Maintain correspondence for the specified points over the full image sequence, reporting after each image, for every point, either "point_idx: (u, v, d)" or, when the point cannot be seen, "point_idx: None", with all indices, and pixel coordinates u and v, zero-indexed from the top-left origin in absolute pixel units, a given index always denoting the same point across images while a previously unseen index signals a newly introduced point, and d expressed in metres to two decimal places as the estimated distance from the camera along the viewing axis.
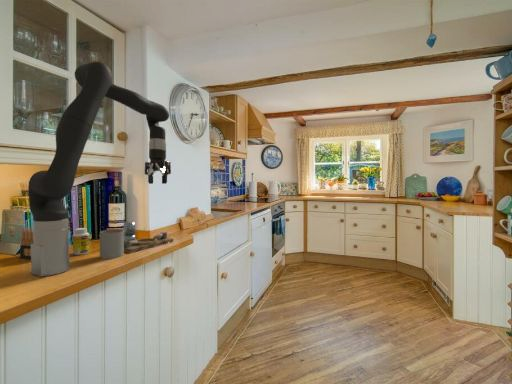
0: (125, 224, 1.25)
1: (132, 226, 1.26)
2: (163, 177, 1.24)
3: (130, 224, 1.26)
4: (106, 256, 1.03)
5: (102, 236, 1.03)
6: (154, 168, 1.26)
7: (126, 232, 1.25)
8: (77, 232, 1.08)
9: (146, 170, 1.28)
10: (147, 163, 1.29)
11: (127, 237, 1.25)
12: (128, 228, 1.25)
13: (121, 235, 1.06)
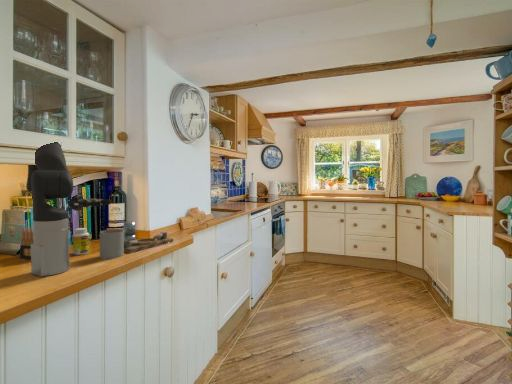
0: (125, 224, 1.25)
1: (132, 226, 1.26)
2: None
3: (130, 224, 1.26)
4: (106, 256, 1.03)
5: (102, 236, 1.03)
6: None
7: (126, 232, 1.25)
8: (77, 232, 1.08)
9: (84, 201, 1.21)
10: None
11: (127, 237, 1.25)
12: (128, 228, 1.25)
13: (121, 235, 1.06)
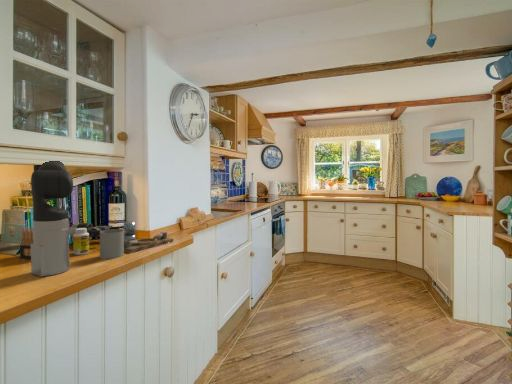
0: (125, 224, 1.25)
1: (132, 226, 1.26)
2: None
3: (130, 224, 1.26)
4: (106, 256, 1.03)
5: (102, 236, 1.03)
6: (98, 229, 1.26)
7: (126, 232, 1.25)
8: (77, 232, 1.08)
9: (94, 230, 1.21)
10: None
11: (127, 237, 1.25)
12: (128, 228, 1.25)
13: (121, 235, 1.06)
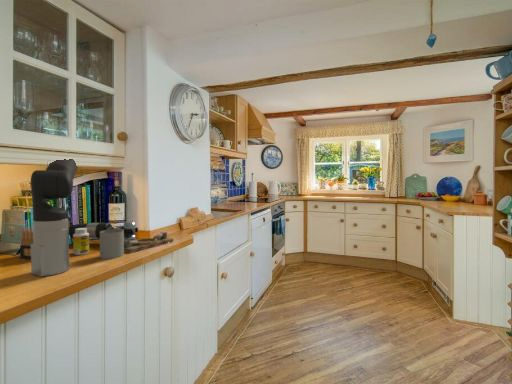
0: (125, 224, 1.25)
1: (132, 226, 1.26)
2: None
3: (130, 224, 1.26)
4: (106, 256, 1.03)
5: (102, 236, 1.03)
6: (117, 228, 1.27)
7: None
8: (77, 232, 1.08)
9: None
10: None
11: (127, 237, 1.25)
12: (128, 228, 1.25)
13: (121, 235, 1.06)
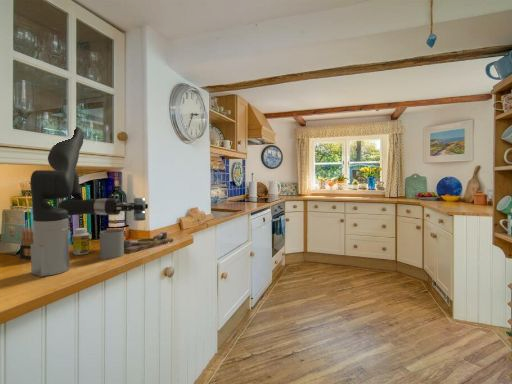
0: (135, 199, 1.22)
1: (142, 201, 1.23)
2: None
3: (140, 199, 1.22)
4: (106, 256, 1.03)
5: (102, 236, 1.03)
6: (127, 204, 1.24)
7: None
8: (77, 232, 1.08)
9: (126, 205, 1.19)
10: None
11: (137, 213, 1.22)
12: (138, 203, 1.22)
13: (121, 235, 1.06)
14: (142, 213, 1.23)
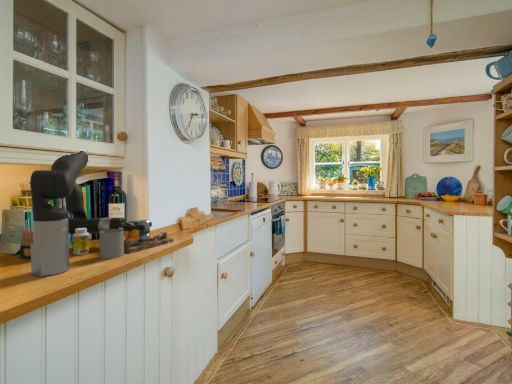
0: (140, 222, 1.21)
1: (147, 224, 1.22)
2: None
3: (145, 222, 1.21)
4: (106, 256, 1.03)
5: (102, 236, 1.03)
6: None
7: (141, 230, 1.21)
8: (77, 232, 1.08)
9: (128, 225, 1.18)
10: None
11: (142, 236, 1.21)
12: None
13: (121, 235, 1.06)
14: (146, 236, 1.22)
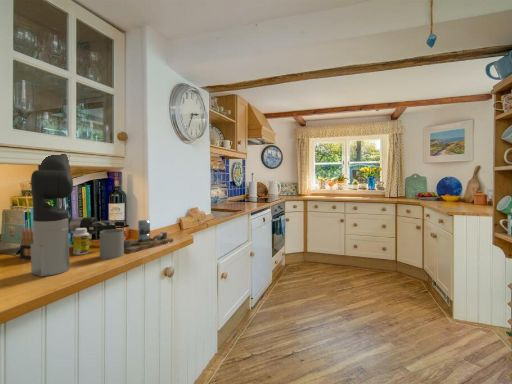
0: (140, 222, 1.21)
1: (147, 224, 1.22)
2: None
3: (145, 222, 1.22)
4: (106, 256, 1.03)
5: (102, 236, 1.03)
6: None
7: (141, 230, 1.21)
8: (77, 232, 1.08)
9: (99, 225, 1.17)
10: None
11: (142, 236, 1.22)
12: (143, 226, 1.21)
13: (121, 235, 1.06)
14: (147, 236, 1.23)
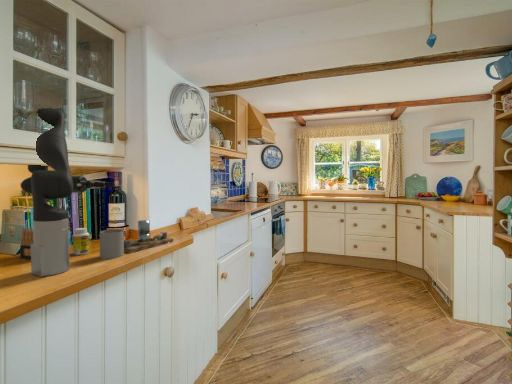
0: (140, 222, 1.21)
1: (147, 224, 1.22)
2: None
3: (145, 222, 1.22)
4: (106, 256, 1.03)
5: (102, 236, 1.03)
6: None
7: (141, 230, 1.21)
8: (77, 232, 1.08)
9: (87, 182, 1.16)
10: None
11: (142, 236, 1.21)
12: (143, 226, 1.21)
13: (121, 235, 1.06)
14: (147, 236, 1.23)
